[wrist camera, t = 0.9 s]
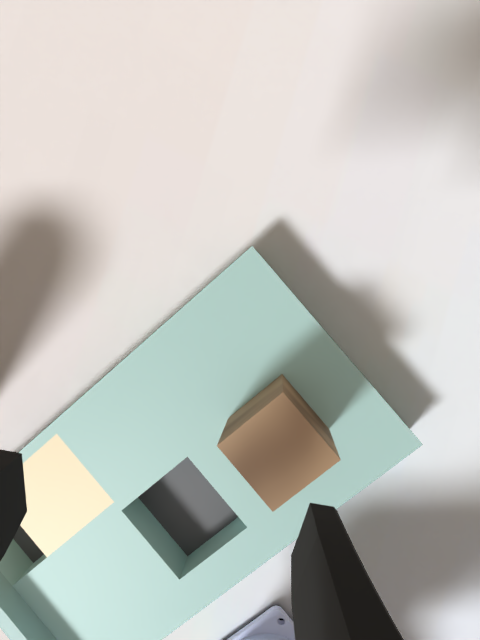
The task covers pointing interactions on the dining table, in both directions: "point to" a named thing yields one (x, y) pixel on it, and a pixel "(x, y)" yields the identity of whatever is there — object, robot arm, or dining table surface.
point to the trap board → (181, 468)
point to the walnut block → (278, 443)
